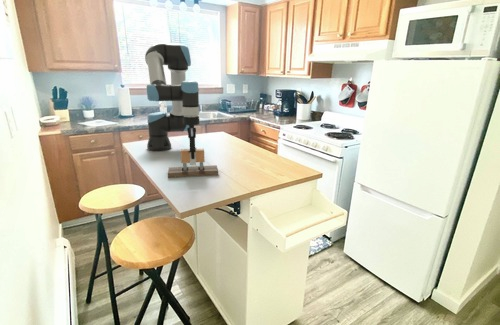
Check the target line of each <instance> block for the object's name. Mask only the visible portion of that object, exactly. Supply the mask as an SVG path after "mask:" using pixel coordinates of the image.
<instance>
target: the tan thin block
mask: <svg viewBox="0 0 500 325" xmlns="http://www.w3.org/2000/svg"><path fill="white" fill-rule="evenodd" d="M195 150H196V163H199V166H200V170H203V166H204V163H205V149H204V148H196V149H195ZM188 151H190V148H187V149H186V148H182V149H180V161H181V162H180V163H181V164H182V167H183V171H185V170H187V167H188V165H187V164H190V152H188Z"/></svg>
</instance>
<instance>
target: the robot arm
mask: <svg viewBox="0 0 500 325" xmlns="http://www.w3.org/2000/svg"><path fill="white" fill-rule="evenodd" d="M144 55H145V56H144V59H145V63H146V65H147V68H148V76H149V84H147V85H146V94H147V95H146V96H147V100H148V101H149V102H171V107H172V108H171V110H169V113H168V114H167V112H166V111H158V112H151V113H149V114H148V115H147V127H148V128H147V129H148V141H147V144H146V147H147V150H148V151H152V152H163V150H164V151H167V150H170V149H171V148H172V143H171V140H170V139H169V135H168V134H169V133H177V132H180V133H181V132H187V136H188V139H189V149H190V151H188V152H190V163H189V166H197V162H196V150H195V149H197V147H196V137H197V136H196V133H197V128H196V127H195V126H198V125H200V111H201V108H199V107H200V105H199V104H200V101H199V100H200V97H199V92H200V89H199V83H198V82H197V81H189V80H187V81H186V72H187V71H189V67H190V66H192V62H191V53H190V49H189V47H188V46H187V45H186V44H182V43H167V42H166V43H165V42H159V43H155V44H153V45H151V46H150V47H148V49H147V50H146V52H145V54H144ZM164 66H167V69H168V70H169V71H170V84H167V81H166V75H165V70H164Z"/></svg>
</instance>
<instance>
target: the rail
mask: <svg viewBox="0 0 500 325" xmlns="http://www.w3.org/2000/svg"><path fill="white" fill-rule="evenodd" d="M209 176H211V177H213V176H219V168H218V165H215V164H214V165H203V170H200V165H198V166H197V165H190V166H187V170H185V171H183V166H171V167H168V170H167V179H172V178H173V179H174V178H175V179H177V178H188V177H190V178H194V177H195V178H196V177H209Z"/></svg>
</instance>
